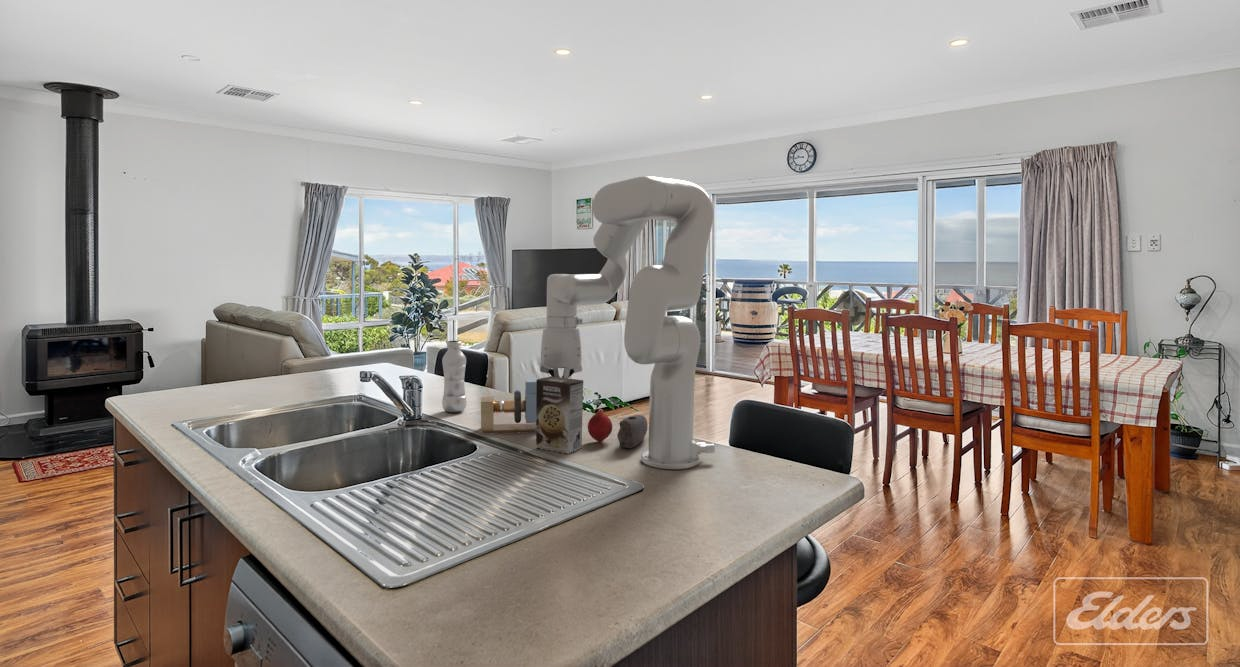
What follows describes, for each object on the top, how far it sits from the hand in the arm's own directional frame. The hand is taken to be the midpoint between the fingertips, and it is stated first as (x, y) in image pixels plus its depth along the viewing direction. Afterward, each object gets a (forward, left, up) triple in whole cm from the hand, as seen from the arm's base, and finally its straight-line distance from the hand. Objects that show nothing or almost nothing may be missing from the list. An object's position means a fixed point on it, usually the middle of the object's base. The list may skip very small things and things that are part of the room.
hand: (560, 394), depth 172 cm
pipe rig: (+12, 0, -9) cm, 15 cm away
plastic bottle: (+28, -22, -9) cm, 37 cm away
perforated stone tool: (-16, +16, -9) cm, 24 cm away
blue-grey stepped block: (+7, 0, -6) cm, 9 cm away
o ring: (+11, 0, -7) cm, 13 cm away
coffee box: (+2, +18, -9) cm, 20 cm away
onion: (-8, +14, -9) cm, 19 cm away
